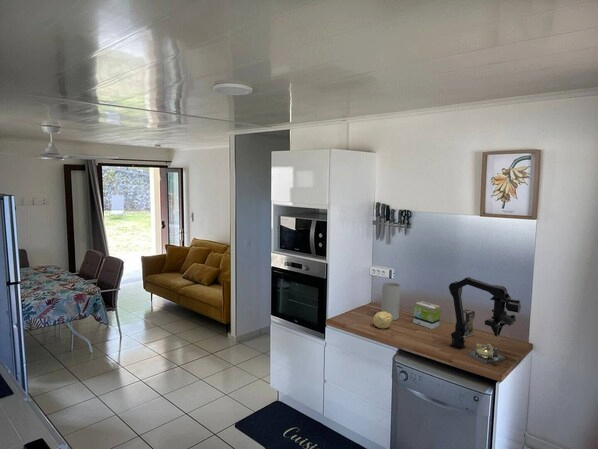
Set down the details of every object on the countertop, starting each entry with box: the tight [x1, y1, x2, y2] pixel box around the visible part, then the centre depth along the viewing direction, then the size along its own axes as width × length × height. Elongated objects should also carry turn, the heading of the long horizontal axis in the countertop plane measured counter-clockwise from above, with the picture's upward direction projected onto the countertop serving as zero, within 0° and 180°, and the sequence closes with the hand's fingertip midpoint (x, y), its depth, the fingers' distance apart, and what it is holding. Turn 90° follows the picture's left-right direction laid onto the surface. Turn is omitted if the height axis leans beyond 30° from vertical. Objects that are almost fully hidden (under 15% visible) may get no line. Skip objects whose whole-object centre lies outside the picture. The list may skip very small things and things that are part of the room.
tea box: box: [412, 300, 441, 330], centre depth 282 cm, size 15×10×15 cm, turn 42°
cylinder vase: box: [380, 281, 401, 322], centre depth 294 cm, size 12×12×25 cm
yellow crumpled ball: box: [373, 311, 393, 329], centre depth 275 cm, size 11×12×11 cm
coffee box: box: [463, 308, 476, 339], centre depth 264 cm, size 9×6×16 cm
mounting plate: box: [466, 350, 506, 365], centre depth 231 cm, size 13×15×2 cm
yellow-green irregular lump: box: [474, 343, 500, 360], centre depth 227 cm, size 17×11×8 cm, turn 1°
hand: (497, 335), depth 230 cm, fingers open, 2 cm apart
